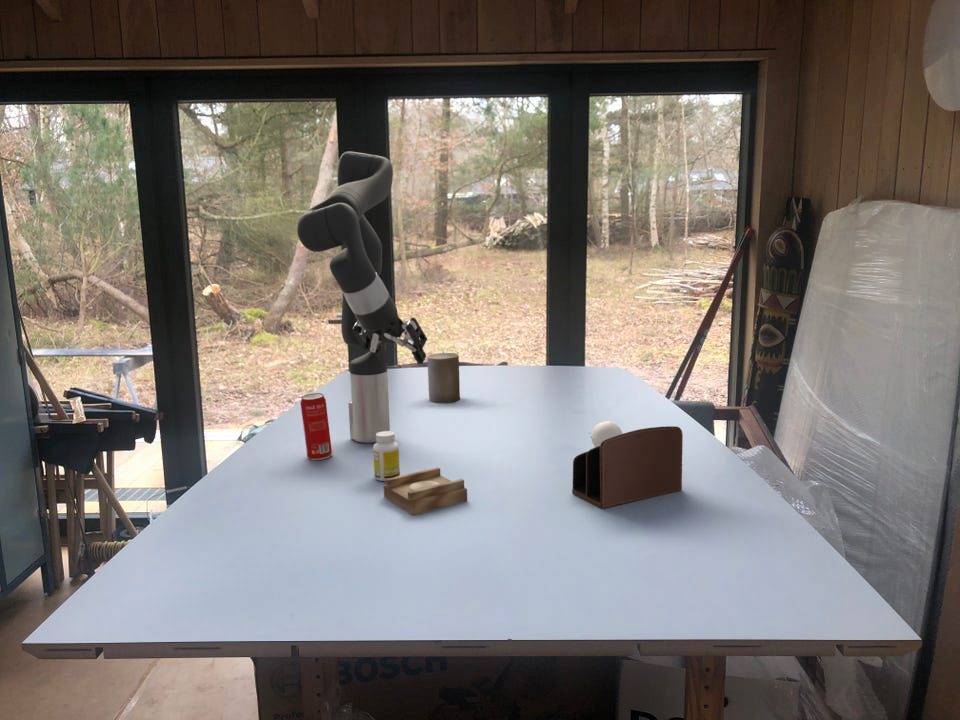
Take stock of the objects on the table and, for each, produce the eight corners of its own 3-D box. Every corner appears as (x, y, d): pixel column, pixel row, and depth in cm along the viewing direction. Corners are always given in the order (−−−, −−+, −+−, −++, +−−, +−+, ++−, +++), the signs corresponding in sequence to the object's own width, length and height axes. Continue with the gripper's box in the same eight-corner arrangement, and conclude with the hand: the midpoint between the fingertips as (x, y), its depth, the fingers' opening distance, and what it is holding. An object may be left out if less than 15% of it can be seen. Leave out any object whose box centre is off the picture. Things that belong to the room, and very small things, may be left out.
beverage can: (336, 454, 180) (333, 392, 177) (320, 462, 174) (316, 399, 171) (316, 452, 182) (312, 391, 180) (299, 459, 177) (294, 397, 174)
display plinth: (413, 515, 142) (412, 495, 141) (384, 496, 151) (383, 477, 151) (467, 501, 148) (466, 481, 147) (435, 484, 158) (435, 465, 157)
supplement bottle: (404, 474, 165) (402, 431, 163) (393, 482, 160) (391, 438, 158) (381, 472, 166) (379, 429, 165) (370, 480, 161) (367, 436, 160)
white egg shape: (629, 451, 177) (629, 420, 176) (611, 459, 172) (611, 427, 170) (593, 443, 184) (593, 414, 183) (575, 450, 179) (575, 420, 177)
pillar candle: (466, 397, 234) (464, 349, 232) (448, 404, 226) (446, 355, 224) (440, 394, 240) (439, 347, 237) (422, 401, 231) (420, 352, 229)
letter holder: (682, 491, 151) (684, 422, 149) (601, 510, 142) (602, 438, 140) (649, 477, 160) (650, 412, 157) (571, 494, 151) (571, 425, 148)
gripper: (409, 284, 140) (441, 348, 150) (347, 288, 147) (382, 349, 157) (393, 311, 135) (427, 375, 146) (330, 314, 142) (367, 375, 152)
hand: (404, 361), depth 151 cm, fingers open, 8 cm apart
